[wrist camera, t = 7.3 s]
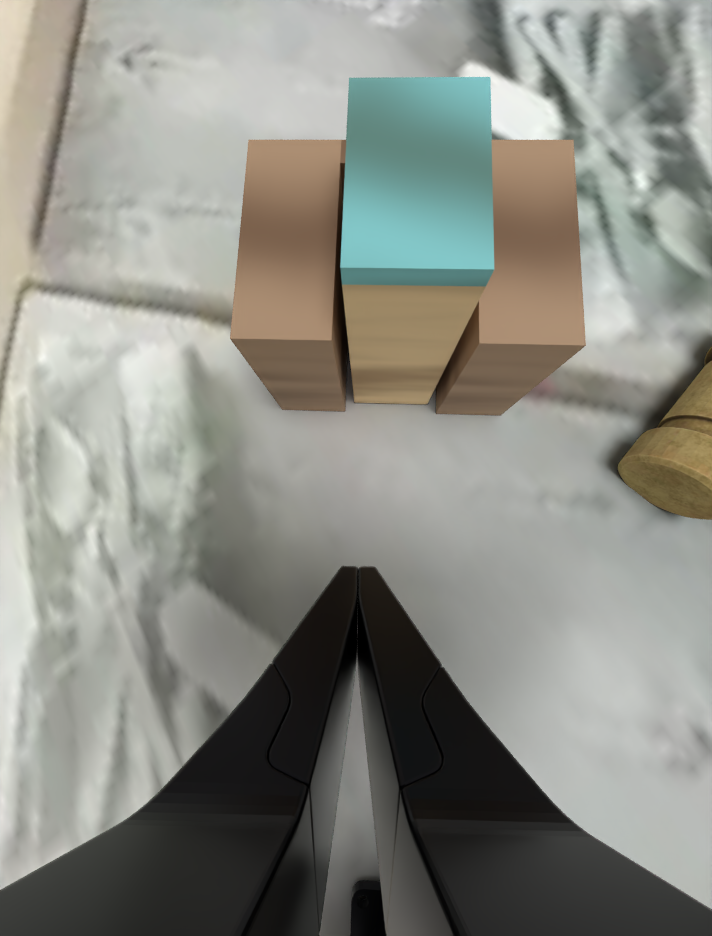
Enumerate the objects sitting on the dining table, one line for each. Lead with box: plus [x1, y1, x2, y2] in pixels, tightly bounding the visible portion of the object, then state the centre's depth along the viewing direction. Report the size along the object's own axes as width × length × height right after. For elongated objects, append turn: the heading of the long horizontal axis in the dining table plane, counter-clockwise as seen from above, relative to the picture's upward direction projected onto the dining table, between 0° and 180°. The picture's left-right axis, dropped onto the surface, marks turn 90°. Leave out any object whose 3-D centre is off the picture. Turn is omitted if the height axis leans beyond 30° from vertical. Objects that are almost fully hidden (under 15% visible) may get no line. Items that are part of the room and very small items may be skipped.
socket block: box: [230, 140, 586, 415], centre depth 17 cm, size 8×12×8 cm, turn 88°
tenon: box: [340, 77, 494, 404], centre depth 16 cm, size 6×4×11 cm, turn 178°
